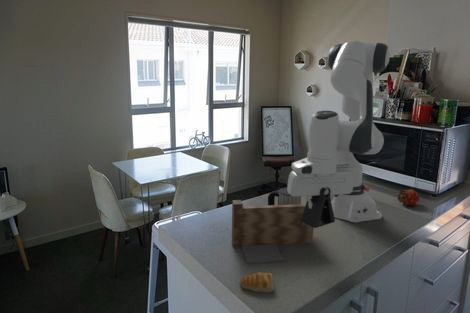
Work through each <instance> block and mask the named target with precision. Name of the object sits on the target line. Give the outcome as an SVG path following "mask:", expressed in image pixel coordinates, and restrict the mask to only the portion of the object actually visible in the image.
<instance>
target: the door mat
mask: <svg viewBox="0 0 470 313" xmlns="http://www.w3.org/2000/svg"><path fill="white" fill-rule="evenodd" d="M241 250H242V253H243V254H244V258H245V260H246V263H247V264H262V263H265V264H266V263H278V262H285V259H284V257H283V256H282V254H281V252H280V251H279V249H278V247H277V244H268V245H250V246H242V248H241Z"/></svg>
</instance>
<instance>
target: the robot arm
mask: <svg viewBox="0 0 470 313" xmlns="http://www.w3.org/2000/svg"><path fill="white" fill-rule="evenodd" d="M390 58H391V54H390V50H389V46H388V45H387V44H386V43H382V42H377V43H375V42H365V41H364V42H361V41H360V40H354V39H353V40H349V41H347V42H345V43H338V44H335V45H333V46H332V47H331V48H330V49H329V52H328V55H327V64H328V67H329V69H330V70H331V71H330V72H331V73H330V84H331V86H332V87H333V89H335V91H337V92H338V93H339V94H340V95H342V100H341V111H342V112H343V114H344V115H346V116H347V117H348V118H349V119H350V120H341V119H340V117H339V114H338V112H336V111H333V110H318V111H316V112H314V113H313V114H312V115H311V118H310V123H309V131H308V139H307V141H308V145H309V146H308V147H309V148H308V152H307V155H306V156H307V157H304V158H302V159H299V160H297V161H293V162H292V163H291V169H292V170H291V171H290V173H289V175H288V180H287V191H288V193H289V194H290V195H291V196H292V197H297V196H301V197H305V199H306V202H307V201H308V206H309V209H311V208H312V206H313V203H312V202H311V200H310V199H312V196H317V195H320V190H321V189H322V188H326V187H327V188H329V189H330V190H331V193H330V199H331V204H332V208H333V213H334V218H335V219H340V220H344V221H348V222H351V223H360V222H366V221H367V222H370V221H375V220H380V219H383V218H382V217H383V215H382V213H381V212H380V211H379V210H378V209H377V203H376V201H375V200H374V199H373V198H371V197H370V196H369V195H368V194H367V193H366V192H369V191H370V186H368V185H364V184H363V183H362V179H363V172H364V170H363V166H362V164H361V162H359V161H358V160H357V159H356V157H355V156H354V154H355V155H375V154H377V153H379V152H380V151H381V150H382V148H383V146H384V143H385V139H384V135H383V134H382V131H381V130H379V129H378V128H377V126H376V125H375V123H374V95H373V94H374V88H373V83H374V81H373V80H374V78H373V77H377V75H378V74H379V73H382V72H384V70H385V69H386V67H387V66H388V64H389V62H390ZM373 74H374V76H373ZM327 188H326V190H325V193H324V195H327V194H328V193H329V190H328V189H327ZM325 208H326V206H325Z"/></svg>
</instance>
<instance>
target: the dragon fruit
mask: <svg viewBox="0 0 470 313" xmlns="http://www.w3.org/2000/svg"><path fill="white" fill-rule="evenodd" d="M397 200H398V202H399V203H402V202H403V203H404V204H405V205H408V206H411V205H414V206H413V207H415V206H416V204H417V202H419V201H420V197H419V194H418V192H417V191H415V190H414V189H413V188H411V189H408V188H407V189H405V190H400V191H399V193H398V197H397ZM403 203H402V204H403ZM405 205H404V206H405Z"/></svg>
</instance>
